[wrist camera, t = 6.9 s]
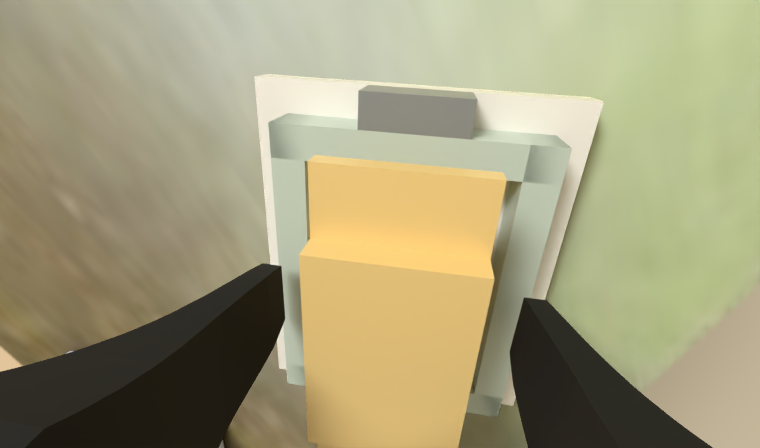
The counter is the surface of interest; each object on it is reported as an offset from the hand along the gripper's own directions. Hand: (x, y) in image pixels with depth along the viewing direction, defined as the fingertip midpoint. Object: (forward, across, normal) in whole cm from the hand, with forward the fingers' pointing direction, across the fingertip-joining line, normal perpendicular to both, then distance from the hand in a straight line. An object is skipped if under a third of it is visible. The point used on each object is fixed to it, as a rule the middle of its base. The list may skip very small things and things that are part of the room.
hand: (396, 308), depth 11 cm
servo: (+2, 0, 0) cm, 2 cm away
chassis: (+3, 0, 0) cm, 3 cm away
